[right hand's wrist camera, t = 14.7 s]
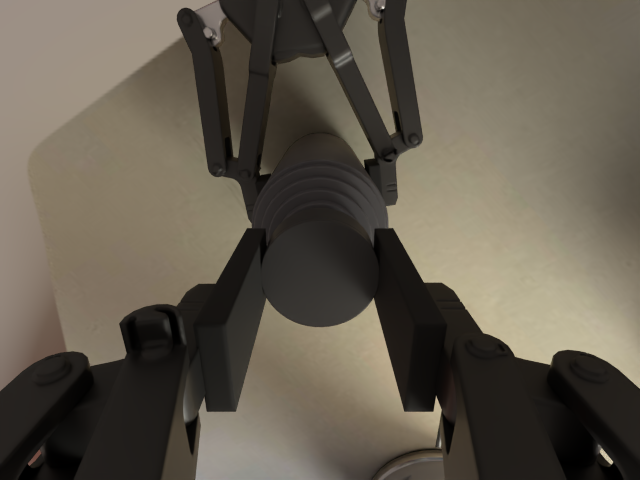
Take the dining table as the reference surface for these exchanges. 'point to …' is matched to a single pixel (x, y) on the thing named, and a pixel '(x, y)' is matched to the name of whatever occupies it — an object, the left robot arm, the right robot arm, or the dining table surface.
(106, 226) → the dining table surface
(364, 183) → the bottle
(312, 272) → the cap
